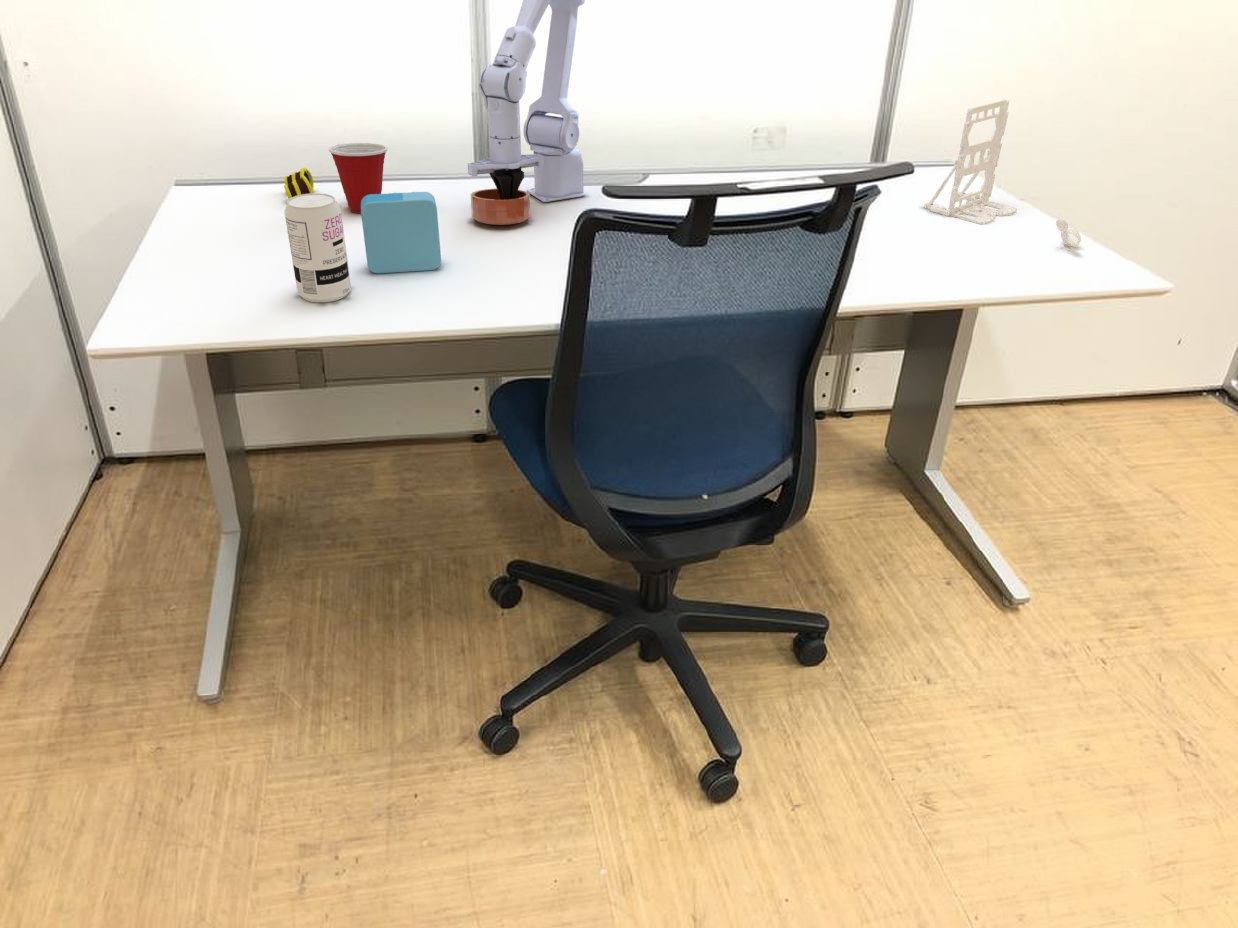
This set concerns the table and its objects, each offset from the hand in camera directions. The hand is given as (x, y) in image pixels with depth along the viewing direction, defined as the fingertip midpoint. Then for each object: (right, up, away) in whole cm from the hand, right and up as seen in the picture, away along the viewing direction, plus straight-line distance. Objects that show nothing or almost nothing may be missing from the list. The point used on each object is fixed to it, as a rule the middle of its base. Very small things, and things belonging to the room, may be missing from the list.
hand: (508, 208), depth 191 cm
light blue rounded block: (-15, -16, -22) cm, 31 cm away
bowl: (-1, -2, -2) cm, 3 cm away
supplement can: (-25, -22, -32) cm, 46 cm away
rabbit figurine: (+101, -10, -10) cm, 102 cm away
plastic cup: (-28, +1, +4) cm, 28 cm away
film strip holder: (+91, +2, +8) cm, 91 cm away
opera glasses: (-42, +4, +9) cm, 44 cm away
